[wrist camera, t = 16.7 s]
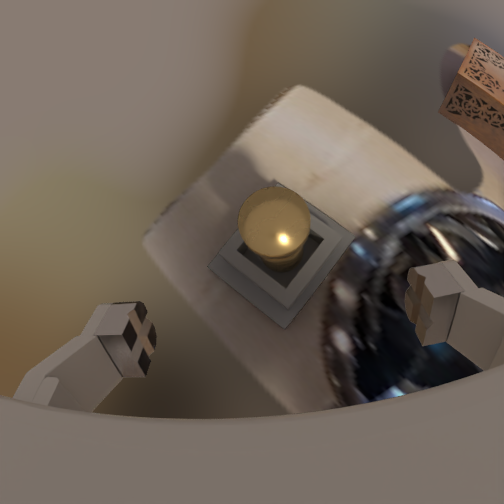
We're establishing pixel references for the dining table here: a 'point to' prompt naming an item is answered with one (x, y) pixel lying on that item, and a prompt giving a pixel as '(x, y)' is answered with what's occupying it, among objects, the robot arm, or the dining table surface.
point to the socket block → (283, 283)
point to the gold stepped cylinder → (275, 227)
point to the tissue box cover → (479, 97)
